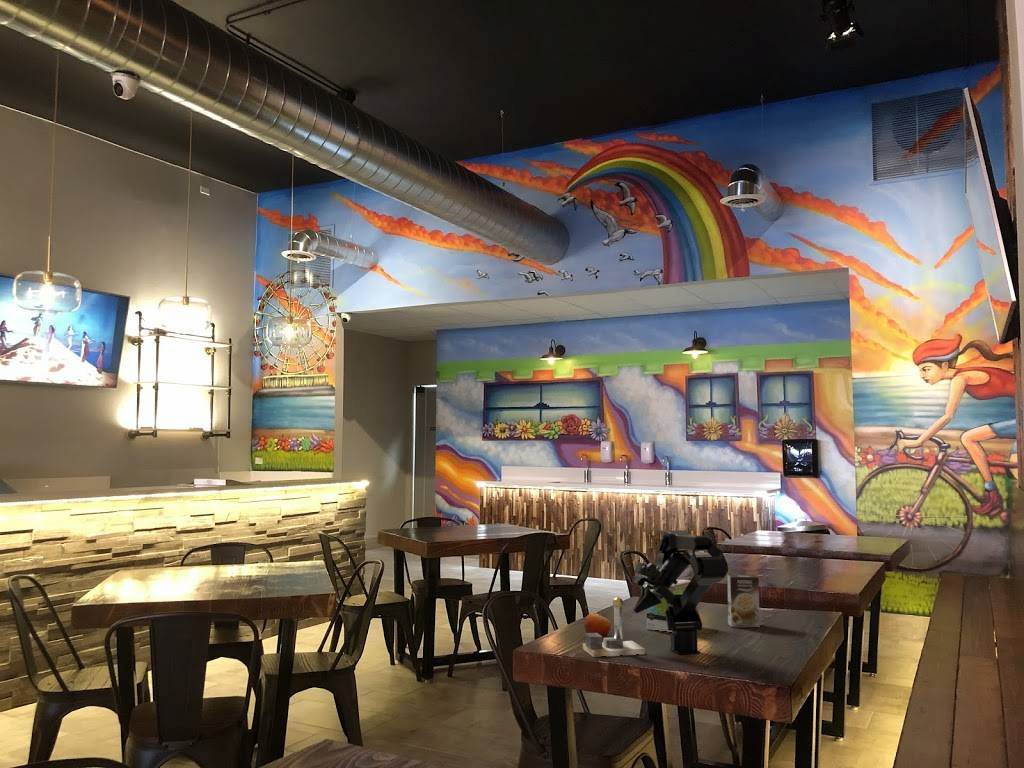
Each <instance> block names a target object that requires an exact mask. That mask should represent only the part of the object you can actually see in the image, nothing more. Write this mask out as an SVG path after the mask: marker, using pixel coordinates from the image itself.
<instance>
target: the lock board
mask: <svg viewBox="0 0 1024 768" xmlns="http://www.w3.org/2000/svg"><path fill="white" fill-rule="evenodd" d="M584 635H585V637H584V638H585V643H582V650H584V651H585V652H587V654H589V655H590V656H592V657H593V658H601V656H606V657H620V655H623V656H635V655H636V654H639V655H646V648H645V647H643V646H642V645H640V644H638V643H636V642H635V641H633V640H625V641H624V640H623V639H622V640H608V647H605V646H603V638H602V636H601V635H599V634H598V633H586V632H585V633H584ZM604 638H614V636H606V637H604Z"/></svg>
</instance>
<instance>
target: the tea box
mask: <svg viewBox="0 0 1024 768" xmlns="http://www.w3.org/2000/svg"><path fill="white" fill-rule="evenodd" d="M677 581H678V583H677V584H676V585H675V584H672V586H671V587H670V588H669V590H670V591H671V592H672V593H673V594H674V595H679V594H683V592H684V591H685V589H686V587H687V586H688V584H689V583H690V581H691V580H689V579H681V578H678V579H677ZM661 602H662V603H661V604H657V605H655V606H652V607H650V608H648V609H646V629H647V630H650V631H655V630H659V631H658V632H662V631H667V632H666V633H669V632H672V631H671V630H668V626H667V621H666V615H665V611H666V607H667V605H668V604H667V603H666V600H665V599H664V598H662V599H661ZM686 623H693V622H686Z"/></svg>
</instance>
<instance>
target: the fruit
mask: <svg viewBox="0 0 1024 768" xmlns="http://www.w3.org/2000/svg"><path fill="white" fill-rule="evenodd" d="M611 625H612V624H611V621H609V619H608V618H606V617H604V616H603V615H601V614H599V613H596V612H595V613H589V614H588V615H587V616H586V618H585V620H584V630H585V633H598V634H599V635H601V636H602V639H603V638H604V637H608V634H609V632H610V630H611V627H612V626H611Z"/></svg>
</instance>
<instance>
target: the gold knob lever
mask: <svg viewBox="0 0 1024 768" xmlns="http://www.w3.org/2000/svg"><path fill="white" fill-rule="evenodd" d="M612 606H613V619H614V620H613V622H614V624H613V626H614V627H613V630H614V636H613V637H614V638H602V642H603V646H605V647H608V640H623V610H622V609H623V608H622V607H623V606H624V600H623V599H622V598H621V597H618V596H617V597H614V598H613V600H612Z"/></svg>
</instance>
